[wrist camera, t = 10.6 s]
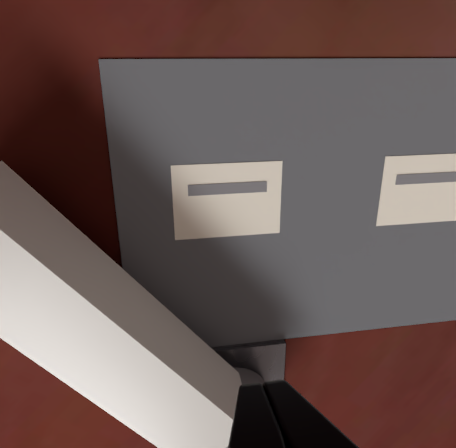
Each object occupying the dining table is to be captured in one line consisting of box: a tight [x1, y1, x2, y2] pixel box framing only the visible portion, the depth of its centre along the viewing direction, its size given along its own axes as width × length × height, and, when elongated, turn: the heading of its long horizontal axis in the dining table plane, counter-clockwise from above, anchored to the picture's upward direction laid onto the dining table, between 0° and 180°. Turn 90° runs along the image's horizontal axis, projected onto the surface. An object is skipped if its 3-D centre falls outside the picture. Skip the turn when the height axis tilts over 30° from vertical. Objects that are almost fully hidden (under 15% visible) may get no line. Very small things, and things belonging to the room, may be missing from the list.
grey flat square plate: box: [211, 339, 286, 382], centre depth 22 cm, size 6×6×1 cm
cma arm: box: [0, 161, 264, 448], centre depth 17 cm, size 4×18×4 cm, turn 39°
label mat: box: [98, 58, 456, 347], centre depth 19 cm, size 20×14×1 cm
